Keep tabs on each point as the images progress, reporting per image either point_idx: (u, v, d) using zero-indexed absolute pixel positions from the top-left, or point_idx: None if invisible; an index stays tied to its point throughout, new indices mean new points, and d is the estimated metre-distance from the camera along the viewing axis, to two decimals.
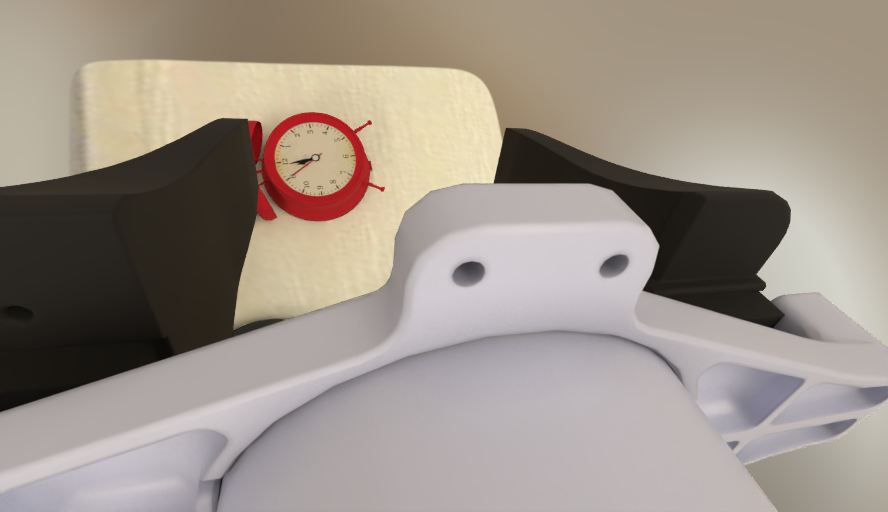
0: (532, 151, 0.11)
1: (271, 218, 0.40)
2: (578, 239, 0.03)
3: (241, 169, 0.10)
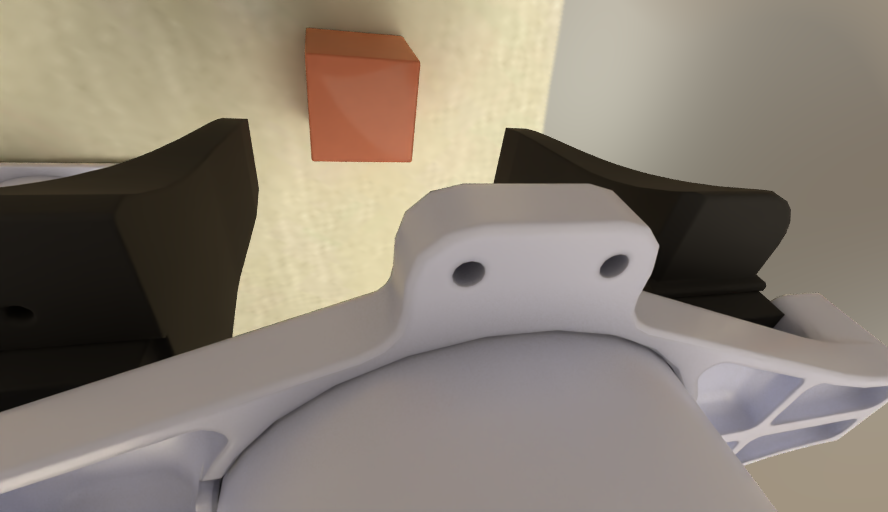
0: (532, 151, 0.11)
1: None
2: (578, 239, 0.03)
3: (241, 169, 0.10)
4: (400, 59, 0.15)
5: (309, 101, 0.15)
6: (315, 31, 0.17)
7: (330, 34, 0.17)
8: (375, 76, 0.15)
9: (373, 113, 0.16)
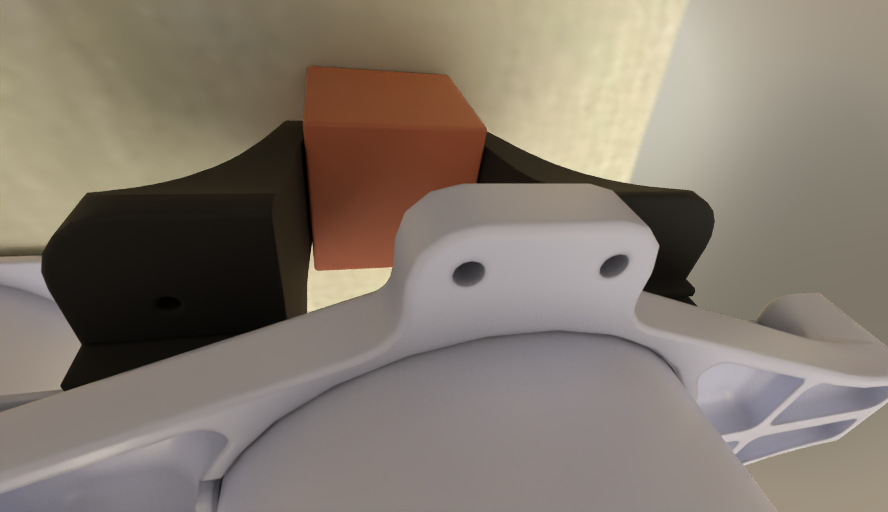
0: None
1: None
2: (578, 239, 0.03)
3: None
4: (456, 126, 0.10)
5: (310, 192, 0.10)
6: (321, 73, 0.11)
7: (343, 78, 0.11)
8: (415, 153, 0.10)
9: (409, 204, 0.10)
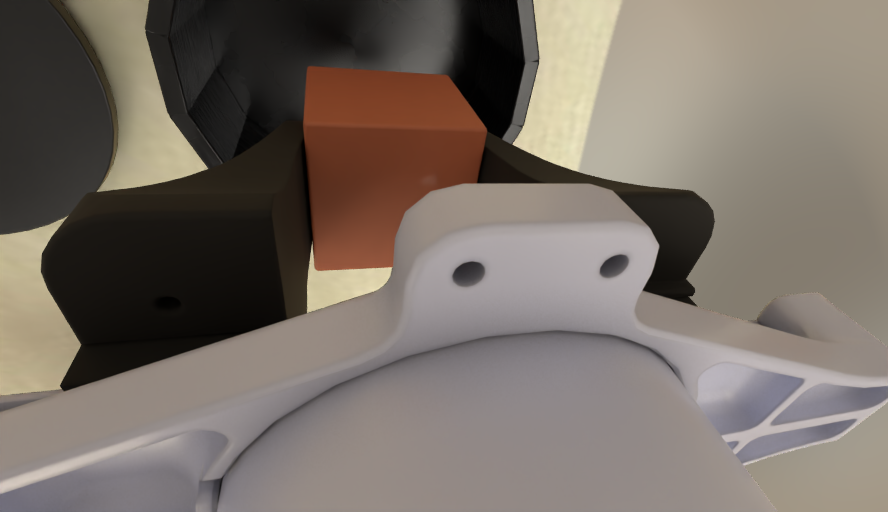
0: None
1: None
2: (578, 239, 0.03)
3: None
4: (456, 126, 0.10)
5: (310, 192, 0.10)
6: (321, 73, 0.11)
7: (343, 78, 0.11)
8: (415, 153, 0.10)
9: (409, 204, 0.10)
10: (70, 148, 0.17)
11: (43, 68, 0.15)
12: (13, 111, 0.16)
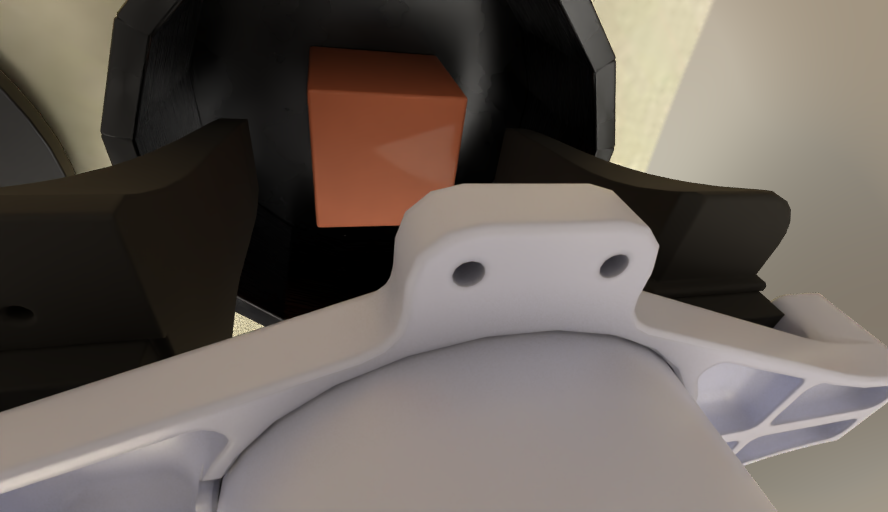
0: (532, 151, 0.11)
1: None
2: (577, 239, 0.03)
3: (241, 169, 0.10)
4: (440, 95, 0.11)
5: (313, 153, 0.11)
6: (322, 52, 0.13)
7: (342, 56, 0.13)
8: (405, 119, 0.11)
9: (400, 166, 0.12)
10: None
11: None
12: None
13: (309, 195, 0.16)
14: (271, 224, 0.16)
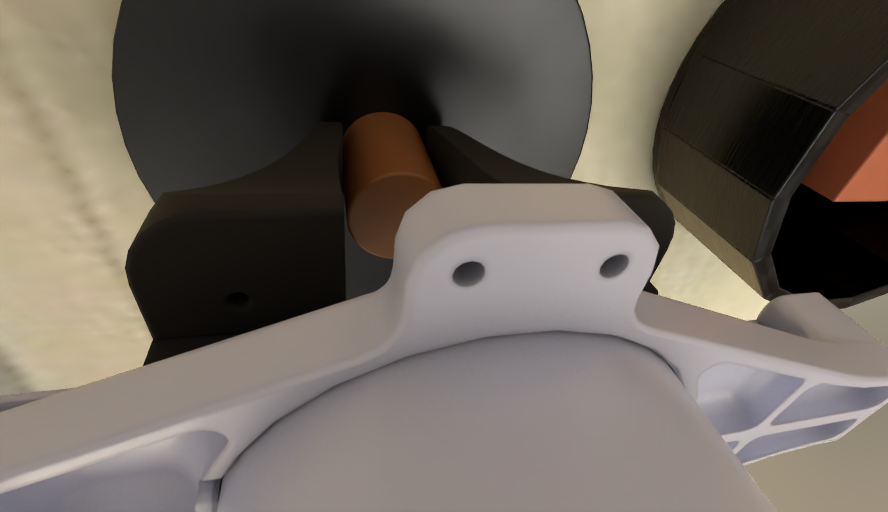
0: (444, 149, 0.11)
1: None
2: (578, 239, 0.03)
3: (342, 170, 0.11)
4: None
5: None
6: None
7: None
8: None
9: None
10: None
11: (540, 132, 0.13)
12: None
13: None
14: None
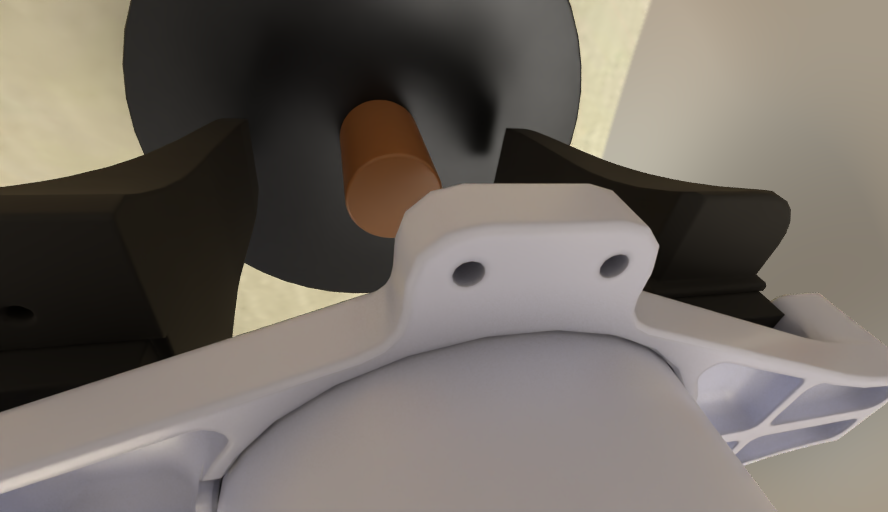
0: (532, 151, 0.11)
1: None
2: (578, 239, 0.03)
3: (241, 169, 0.10)
4: None
5: None
6: None
7: None
8: None
9: None
10: None
11: (532, 121, 0.14)
12: (478, 166, 0.15)
13: None
14: None
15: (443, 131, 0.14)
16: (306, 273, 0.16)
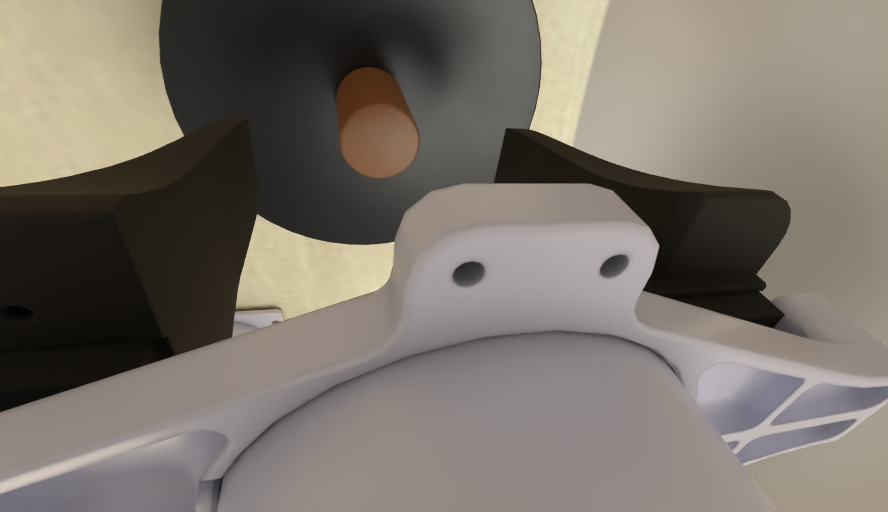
0: (532, 151, 0.11)
1: None
2: (578, 239, 0.03)
3: (241, 169, 0.10)
4: None
5: None
6: None
7: None
8: None
9: None
10: (480, 162, 0.18)
11: (500, 88, 0.16)
12: (455, 128, 0.17)
13: None
14: None
15: (424, 96, 0.16)
16: (308, 224, 0.18)
